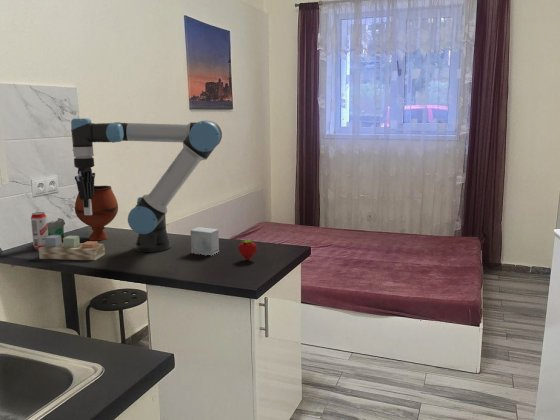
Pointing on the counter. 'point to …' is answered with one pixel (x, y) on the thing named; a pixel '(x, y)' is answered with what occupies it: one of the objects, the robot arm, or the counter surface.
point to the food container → (56, 228)
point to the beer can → (39, 229)
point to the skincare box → (204, 241)
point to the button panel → (71, 252)
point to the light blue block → (53, 241)
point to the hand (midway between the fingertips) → (88, 214)
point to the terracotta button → (90, 244)
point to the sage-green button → (71, 241)
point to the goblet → (98, 211)
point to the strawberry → (247, 249)
